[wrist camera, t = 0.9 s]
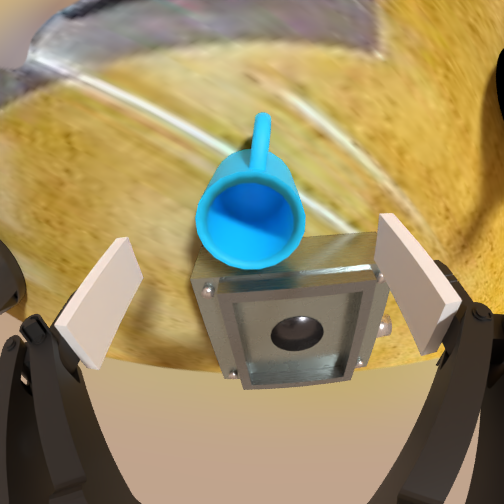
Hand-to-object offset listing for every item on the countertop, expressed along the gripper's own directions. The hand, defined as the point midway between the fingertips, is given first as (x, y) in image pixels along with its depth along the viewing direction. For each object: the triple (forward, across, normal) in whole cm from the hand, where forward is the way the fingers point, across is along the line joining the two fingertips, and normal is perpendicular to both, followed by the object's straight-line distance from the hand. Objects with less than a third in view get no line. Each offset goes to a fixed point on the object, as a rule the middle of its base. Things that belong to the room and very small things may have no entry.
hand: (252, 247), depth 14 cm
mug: (+15, 0, 0) cm, 15 cm away
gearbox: (+15, +4, -17) cm, 23 cm away
